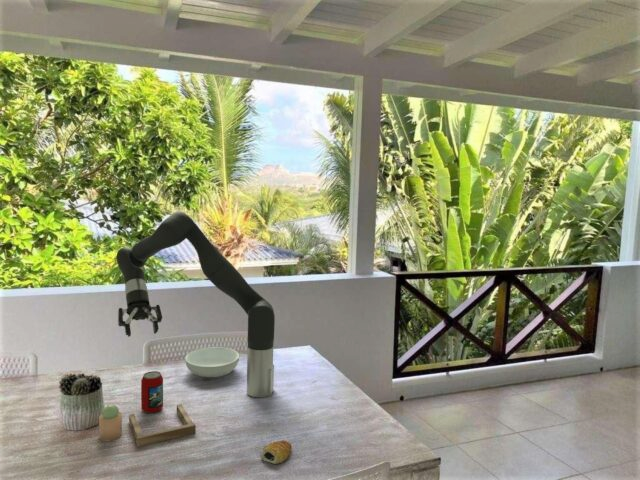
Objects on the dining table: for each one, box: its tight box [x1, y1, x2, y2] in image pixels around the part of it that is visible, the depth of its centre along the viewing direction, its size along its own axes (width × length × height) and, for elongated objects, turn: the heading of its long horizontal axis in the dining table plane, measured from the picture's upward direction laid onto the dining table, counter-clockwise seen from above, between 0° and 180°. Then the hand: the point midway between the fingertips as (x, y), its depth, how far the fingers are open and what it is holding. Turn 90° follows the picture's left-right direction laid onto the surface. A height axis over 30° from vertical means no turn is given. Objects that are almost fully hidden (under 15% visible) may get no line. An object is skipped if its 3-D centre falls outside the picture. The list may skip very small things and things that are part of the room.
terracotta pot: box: [98, 404, 123, 442], centre depth 136 cm, size 6×6×9 cm
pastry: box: [260, 440, 292, 465], centre depth 130 cm, size 9×7×4 cm
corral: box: [128, 403, 196, 448], centre depth 142 cm, size 16×16×2 cm
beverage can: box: [140, 370, 164, 414], centre depth 153 cm, size 7×7×12 cm
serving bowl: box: [184, 346, 240, 378], centre depth 185 cm, size 21×21×7 cm
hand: (142, 334), depth 160 cm, fingers open, 8 cm apart
